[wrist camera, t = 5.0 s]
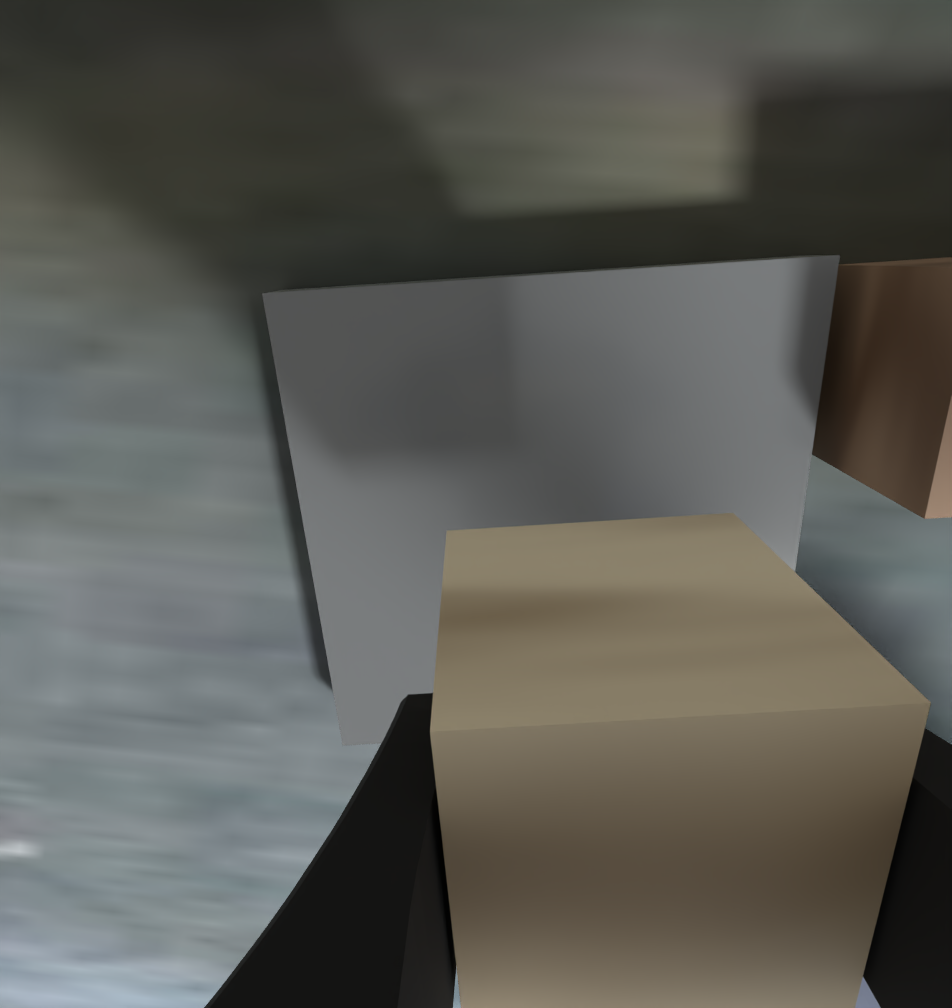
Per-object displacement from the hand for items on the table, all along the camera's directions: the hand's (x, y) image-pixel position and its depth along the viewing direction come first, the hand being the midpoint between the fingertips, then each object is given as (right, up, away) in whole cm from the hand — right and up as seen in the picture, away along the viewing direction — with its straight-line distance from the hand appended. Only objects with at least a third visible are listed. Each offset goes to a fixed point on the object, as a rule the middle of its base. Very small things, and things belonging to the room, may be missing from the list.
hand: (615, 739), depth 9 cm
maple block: (0, +1, +2) cm, 2 cm away
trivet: (0, +3, +8) cm, 8 cm away
